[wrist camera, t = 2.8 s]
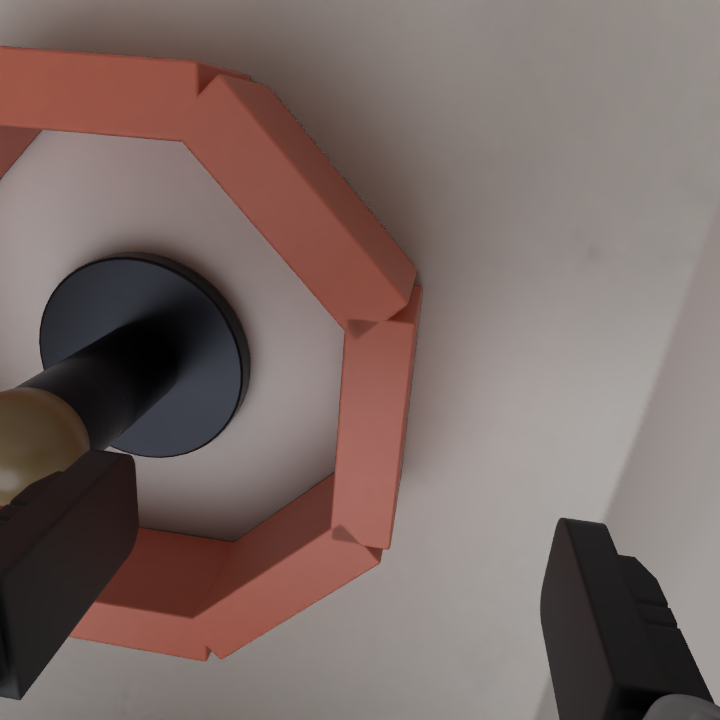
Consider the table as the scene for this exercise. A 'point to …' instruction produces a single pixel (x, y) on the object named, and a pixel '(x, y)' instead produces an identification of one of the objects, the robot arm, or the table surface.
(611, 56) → the table surface
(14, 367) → the table surface
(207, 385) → the ring holder
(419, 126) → the table surface
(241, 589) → the ring
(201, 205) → the table surface
